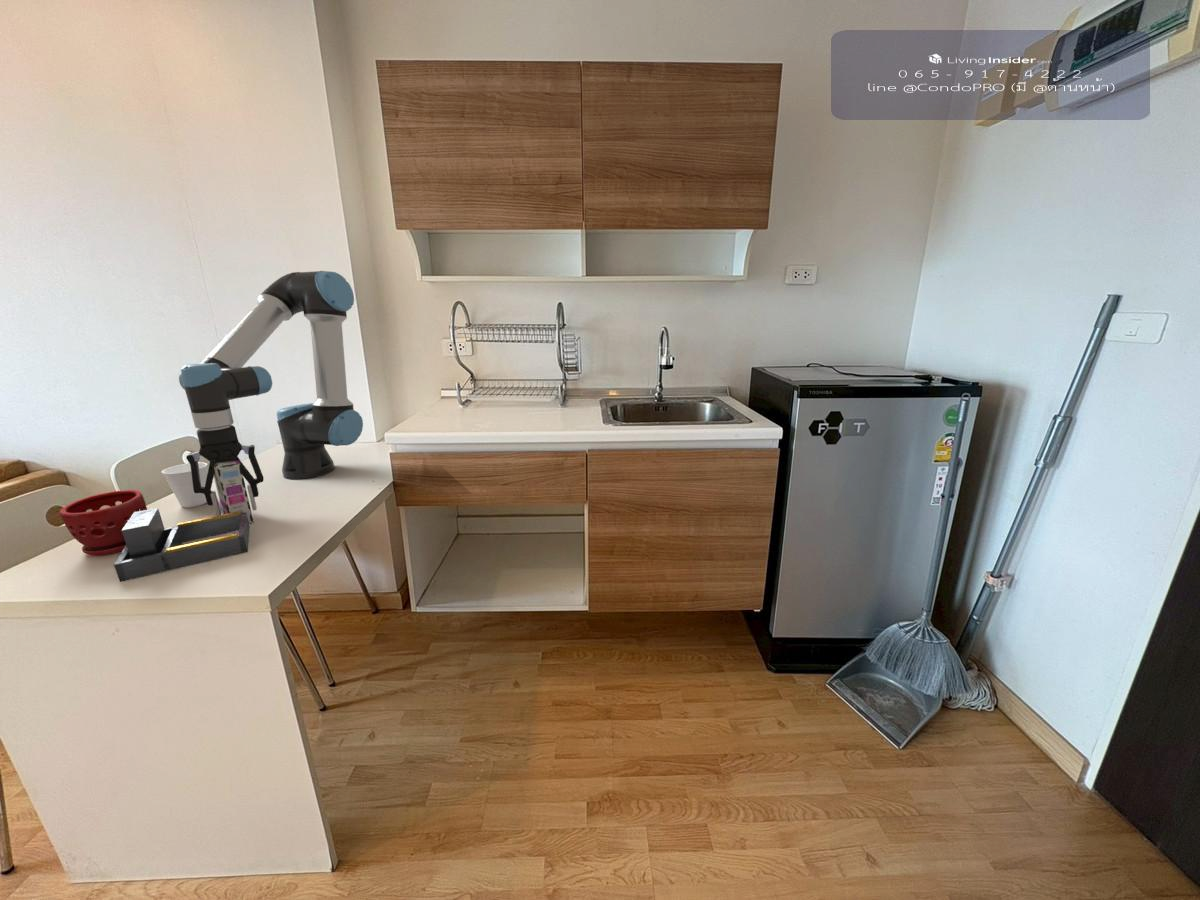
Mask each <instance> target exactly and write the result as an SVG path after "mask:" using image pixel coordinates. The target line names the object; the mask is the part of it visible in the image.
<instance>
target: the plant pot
mask: <svg viewBox="0 0 1200 900" xmlns="http://www.w3.org/2000/svg"><path fill="white" fill-rule="evenodd" d="M117 502H120V503H118V504H116V503H117ZM104 506H106V508H102V507H104ZM107 506H108V507H107ZM89 510H90V511H89ZM143 510H148V507H147V504H146V500H145V498H144V495H143V494H142V492H141V491H139V490H136V489H135V490H134V489H131V490H130V489H129V490H128V489H127V490H126V489H125V490H115V491H109V492H104V493H103V492H102V493H99V494H96V495H91V496H88V497H85V498H82V499H78V500H76V501H73V502H71V503H69V504H67V505H65V506H63V507H62V508H61V509H60V510H59V515H60V517H61V520H62V521H63V523H64V525H65V527H66V528H67V530H68V532H69V534H70V535H71V536H72V537H73V539H75V540H76V541H77V542H79V544H81V545H82V548H81V551H82V553H83V554H85V555H87V556H92V557H93V556H94V557H104V556H112V555H117V554H121V552H122V551H123V549H124V547H125V546H126V542H125V539H124V536H123V533H122V529H123V527H124V526H125V525H126V523H127V522H128V520H129V519H130V517H131V516H132V514H133V513H134V512H138V511H143Z"/></svg>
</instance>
